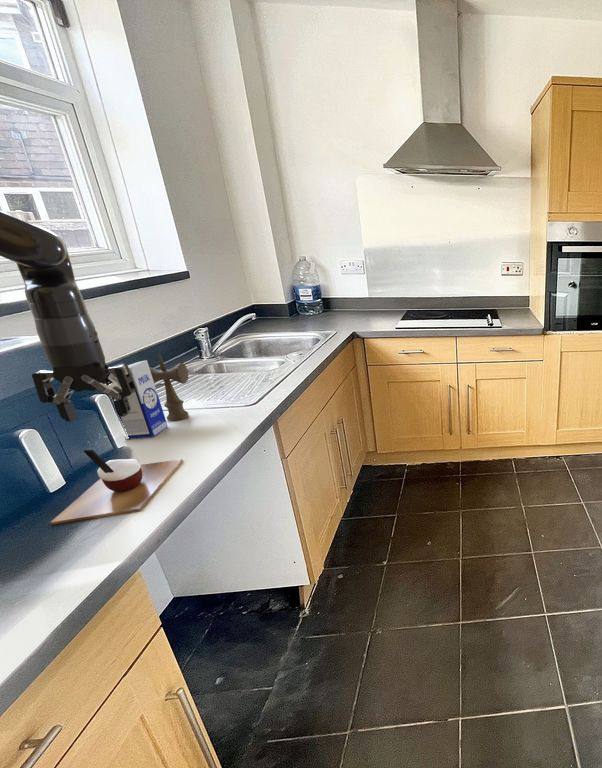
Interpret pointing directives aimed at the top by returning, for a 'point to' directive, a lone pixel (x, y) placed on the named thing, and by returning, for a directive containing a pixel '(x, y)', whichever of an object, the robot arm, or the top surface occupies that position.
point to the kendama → (171, 387)
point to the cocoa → (117, 472)
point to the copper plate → (118, 495)
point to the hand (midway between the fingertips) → (98, 417)
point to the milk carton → (142, 404)
